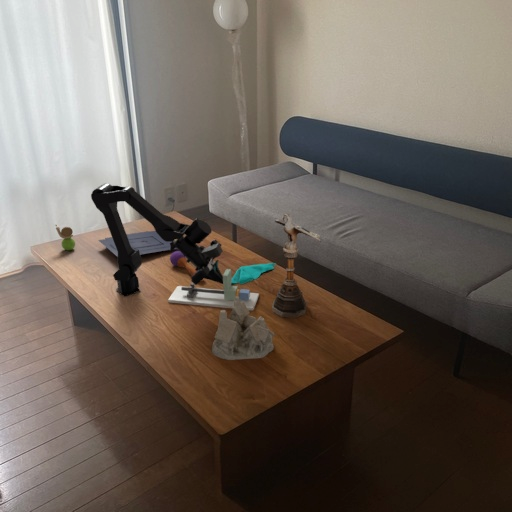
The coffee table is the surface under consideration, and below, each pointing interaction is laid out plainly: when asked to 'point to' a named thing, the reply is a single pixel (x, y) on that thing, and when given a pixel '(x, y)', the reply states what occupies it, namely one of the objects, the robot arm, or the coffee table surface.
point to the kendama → (181, 261)
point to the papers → (140, 243)
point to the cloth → (250, 272)
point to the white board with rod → (211, 297)
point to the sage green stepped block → (228, 286)
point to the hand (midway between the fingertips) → (224, 282)
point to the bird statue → (291, 274)
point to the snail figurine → (66, 238)
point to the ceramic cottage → (241, 335)
